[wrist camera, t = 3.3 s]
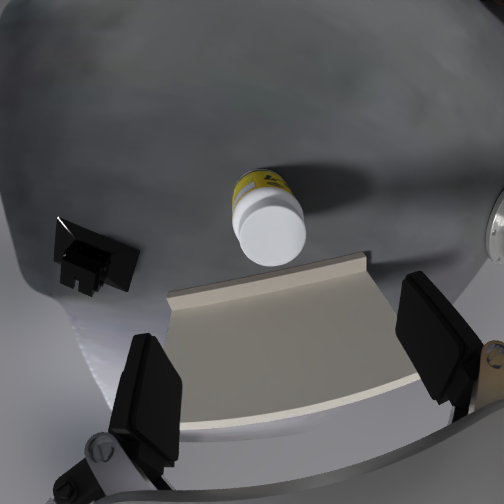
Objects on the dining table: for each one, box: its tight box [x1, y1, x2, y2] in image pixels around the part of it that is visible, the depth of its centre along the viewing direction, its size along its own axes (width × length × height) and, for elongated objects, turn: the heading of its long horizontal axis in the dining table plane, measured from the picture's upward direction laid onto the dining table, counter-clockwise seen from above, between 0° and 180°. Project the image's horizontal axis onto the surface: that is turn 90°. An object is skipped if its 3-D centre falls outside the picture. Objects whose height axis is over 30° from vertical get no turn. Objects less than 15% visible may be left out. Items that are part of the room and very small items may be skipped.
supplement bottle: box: [232, 169, 306, 266], centre depth 21 cm, size 5×5×8 cm
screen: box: [164, 252, 421, 430], centre depth 23 cm, size 20×4×14 cm, turn 102°
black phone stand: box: [54, 217, 140, 297], centre depth 24 cm, size 12×7×5 cm, turn 64°
